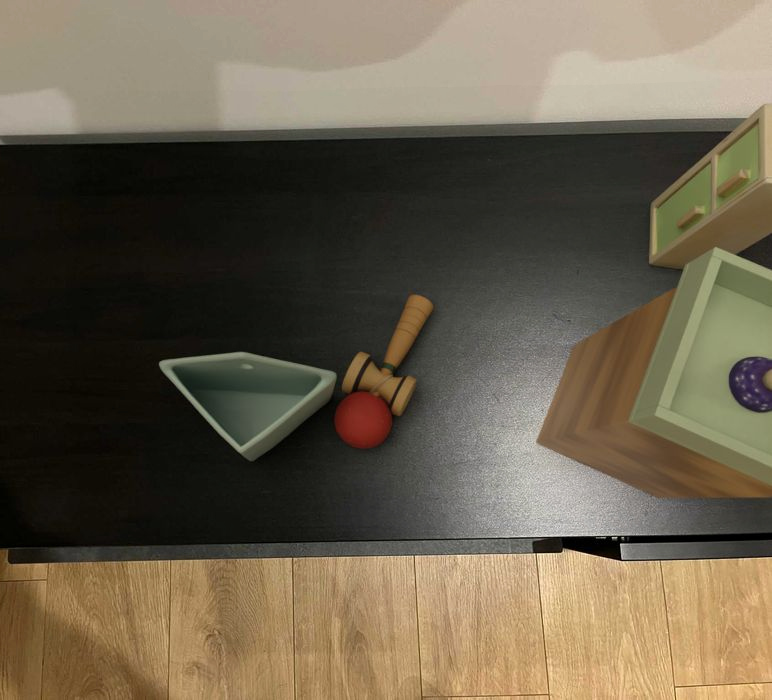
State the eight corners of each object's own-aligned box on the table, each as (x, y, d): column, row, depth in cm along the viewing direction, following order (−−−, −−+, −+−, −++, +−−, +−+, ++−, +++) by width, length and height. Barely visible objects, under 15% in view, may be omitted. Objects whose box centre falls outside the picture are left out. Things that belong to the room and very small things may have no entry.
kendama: (379, 293, 80) (310, 430, 74) (398, 274, 74) (325, 421, 68) (436, 326, 81) (372, 464, 75) (460, 310, 75) (393, 458, 69)
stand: (693, 397, 76) (866, 351, 53) (658, 498, 74) (822, 497, 51) (574, 344, 78) (691, 277, 54) (535, 442, 75) (641, 416, 52)
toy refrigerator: (643, 200, 81) (758, 99, 61) (705, 208, 81) (842, 110, 61) (640, 264, 80) (757, 183, 59) (704, 273, 79) (844, 194, 59)
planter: (175, 456, 75) (131, 440, 55) (183, 383, 76) (143, 344, 57) (327, 466, 75) (335, 454, 55) (331, 393, 76) (341, 357, 57)
